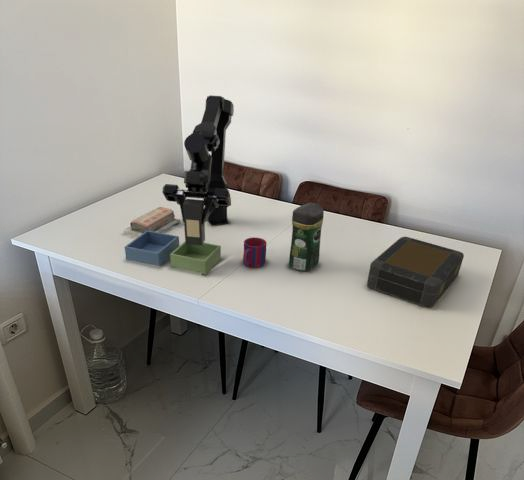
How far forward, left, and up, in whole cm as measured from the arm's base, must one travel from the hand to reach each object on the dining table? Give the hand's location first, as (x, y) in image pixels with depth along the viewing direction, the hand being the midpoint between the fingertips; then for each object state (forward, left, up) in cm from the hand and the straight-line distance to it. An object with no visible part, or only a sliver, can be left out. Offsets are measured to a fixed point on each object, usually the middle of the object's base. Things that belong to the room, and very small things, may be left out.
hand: (193, 223), depth 140 cm
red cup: (-16, +4, -14) cm, 22 cm away
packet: (-1, -1, -6) cm, 6 cm away
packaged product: (+7, -31, -14) cm, 34 cm away
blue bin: (+10, -11, -13) cm, 20 cm away
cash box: (-58, +28, -14) cm, 66 cm away
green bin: (-1, -1, -13) cm, 13 cm away
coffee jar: (-31, +9, -14) cm, 35 cm away
